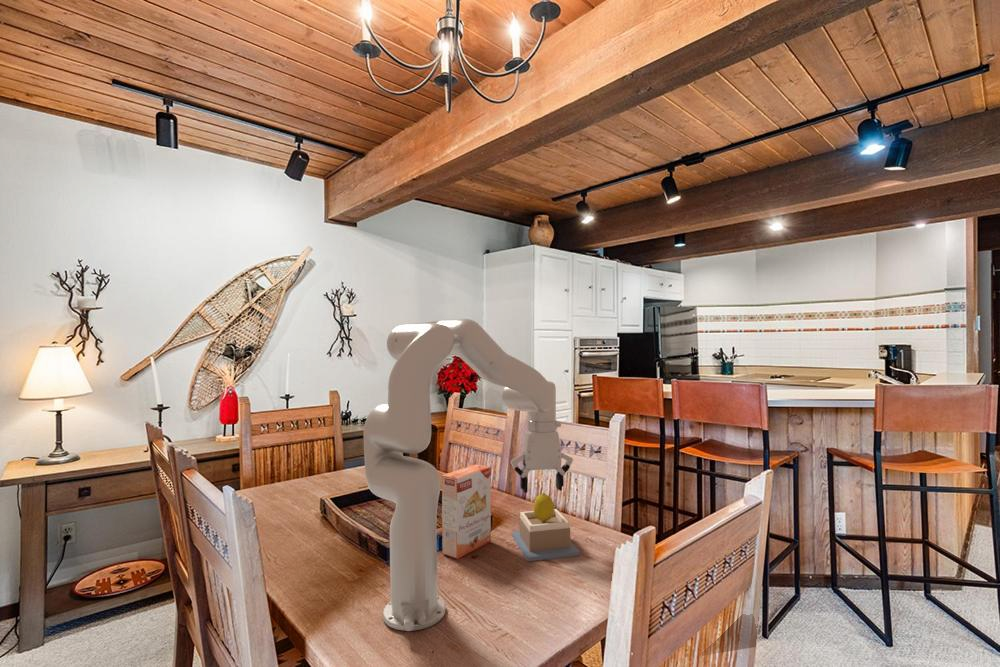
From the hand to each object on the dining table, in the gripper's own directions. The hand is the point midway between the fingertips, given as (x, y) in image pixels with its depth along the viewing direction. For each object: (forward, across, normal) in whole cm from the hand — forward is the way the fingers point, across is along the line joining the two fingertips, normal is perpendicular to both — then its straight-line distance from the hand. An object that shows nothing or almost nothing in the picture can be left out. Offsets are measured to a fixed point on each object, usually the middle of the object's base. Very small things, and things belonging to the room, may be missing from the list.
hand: (542, 490), depth 134 cm
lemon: (+9, -1, 0) cm, 9 cm away
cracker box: (+16, +20, -4) cm, 25 cm away
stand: (+15, -1, -1) cm, 15 cm away
